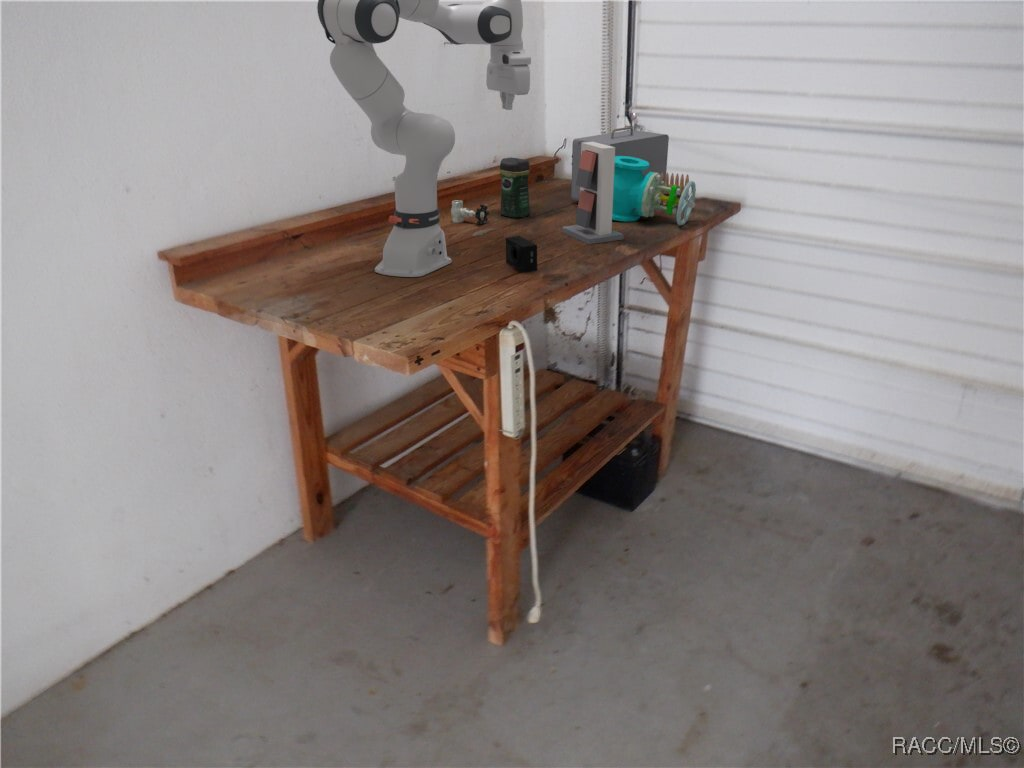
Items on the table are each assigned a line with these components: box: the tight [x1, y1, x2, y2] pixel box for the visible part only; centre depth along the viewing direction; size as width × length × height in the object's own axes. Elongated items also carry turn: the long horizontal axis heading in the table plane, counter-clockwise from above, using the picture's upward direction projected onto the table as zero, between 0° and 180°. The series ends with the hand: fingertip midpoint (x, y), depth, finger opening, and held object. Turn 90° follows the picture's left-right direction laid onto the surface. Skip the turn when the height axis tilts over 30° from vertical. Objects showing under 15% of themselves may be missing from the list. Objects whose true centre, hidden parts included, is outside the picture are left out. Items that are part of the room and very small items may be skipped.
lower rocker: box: [574, 190, 595, 228], centre depth 242 cm, size 1×6×10 cm, turn 27°
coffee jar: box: [499, 156, 531, 219], centre depth 267 cm, size 10×8×19 cm
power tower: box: [561, 142, 624, 245], centre depth 241 cm, size 12×16×27 cm
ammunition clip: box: [660, 171, 690, 212], centre depth 275 cm, size 11×2×12 cm, turn 60°
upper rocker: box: [576, 151, 597, 189], centre depth 237 cm, size 1×6×10 cm, turn 27°
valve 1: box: [450, 199, 490, 226], centre depth 261 cm, size 7×7×12 cm
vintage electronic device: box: [570, 126, 670, 202], centre depth 285 cm, size 32×18×25 cm, turn 133°
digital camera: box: [505, 235, 538, 273], centre depth 218 cm, size 10×5×7 cm, turn 26°
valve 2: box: [612, 156, 697, 227], centre depth 259 cm, size 14×18×30 cm
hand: (507, 109), depth 228 cm, fingers closed
